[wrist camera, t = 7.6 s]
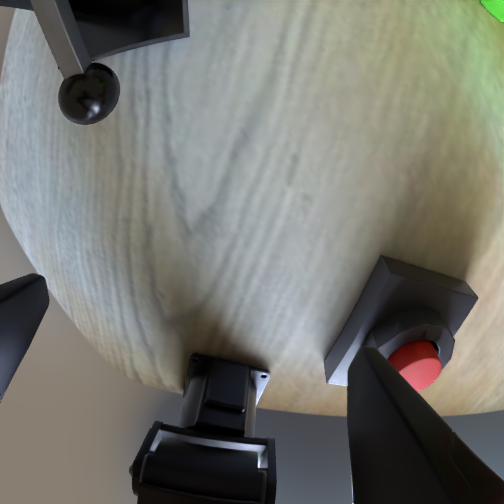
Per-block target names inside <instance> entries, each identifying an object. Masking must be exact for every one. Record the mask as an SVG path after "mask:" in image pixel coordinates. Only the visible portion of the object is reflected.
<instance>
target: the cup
mask: <svg viewBox="0 0 504 504" xmlns="http://www.w3.org/2000/svg"><path fill="white" fill-rule="evenodd" d="M480 2H481V3H482V5H483V6H484V7H485V8H486V9H487V11H488V12H489V13H490V14H492V15H493V16H494V17H495V18H496V19H498V20H499V21H501V22H503V23H504V0H480Z"/></svg>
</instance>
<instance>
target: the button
mask: <svg viewBox="0 0 504 504" xmlns="http://www.w3.org/2000/svg"><path fill="white" fill-rule="evenodd" d="M387 360H388V361H389V362H390V363H391V364H392V366H393V367H394V368H395V369H396V370H397V371H398V372H399V373H400V374H401V375H402V376H403V377H404V378H405V379H406V380H407V381H408V382H409V384H410V385H411V386H412V387H413V388H414V389H415V390H416V391H417V392H418V391H421V390H423V389H424V388H426V387H428V386H429V385H430V384H432V383H433V382H434V381H435V380H436V379H437V378H438V376H439V375H440V373H441V370H442V364H441V361H440V359H439V357H438V355H437V353H436V351H435V349H434V346H433V345H432V344H431V343H430V342H429V341H427V340H417V341H414V342H410V343H406V344H404V345H403V346H401V347H400V348H398V349H397V350H395V351H394V352H392V353H391V354H390V356H389V357H388V359H387Z"/></svg>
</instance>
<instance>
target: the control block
mask: <svg viewBox="0 0 504 504" xmlns="http://www.w3.org/2000/svg"><path fill="white" fill-rule="evenodd" d="M477 300H478V296H477V295H476V294H475V293H474V291H473V290H472V289H471V288H470V286H469V285H468V284H467V283H466V281H463V280H460V279H457V278H454V277H450V276H447V275H444V274H441V273H438V272H434V271H431V270H428V269H425V268H422V267H418V266H415V265H412V264H408V263H405V262H402V261H399V260H395V259H392V258H389V257H385V256H382V255H381V256H380V258H379V260H378V262H377V264H376V266H375V268H374V270H373V272H372V274H371V276H370V278H369V280H368V282H367V284H366V286H365V288H364V290H363V292H362V294H361V296H360V298H359V300H358V302H357V304H356V306H355V308H354V310H353V312H352V313H351V315H350V317H349V319H348V321H347V323H346V324H345V326H344V328H343V330H342V332H341V333H340V335H339V337H338V339H337V341H336V342H335V344H334V346H333V348H332V349H331V351H330V353H329V354H328V356H327V358H326V359H325V361H324V368H325V375H326V383H330V384H337V385H345V386H347V372H348V368H349V365H350V364H351V362H352V360H353V358H354V356H355V355H356V353H357V351H358V349H359V348H360V347H362V346H368V347H374V348H376V349H377V350H378V351H379V352H380V353H381V354H382V355H383V356H384V357H385V358H386V359H388V357H389V356H390V354H391V353H392V352H394V351H395V350H397V349H398V348H400V347H401V346H403V345H404V344H406V343H410V342H414V341H417V340H427V341H429V342H430V343H431V344H432V345H433V346H434V349H435V351H436V353H437V355H438V357H439V359H440V361H441V364H442V369H443V368H444V367H445V365H446V364H447V363H448V362H449V360H450V359H451V357H452V352H453V348H454V343H455V339H454V337H453V336H454V335H455V333H456V332H457V331H458V329H459V328H460V326H461V325H462V323H463V322H464V320H465V319H466V317H467V316H468V314H469V313H470V311H471V309H472V308H473V306H474V305H475V303H476V301H477Z"/></svg>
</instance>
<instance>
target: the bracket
mask: <svg viewBox="0 0 504 504" xmlns="http://www.w3.org/2000/svg"><path fill="white" fill-rule="evenodd" d="M68 2H69V4H70V7H71V10H72V13H73V15H74V18H75V21H76V23H77V26H78V28H79V31H80V33H81V36H82V39H83V41H84V44H85V46H86V49H87V51H88V53H89V56H90V58H91V61H95V60H98V59H101V58H104V57H107V56H111V55H114V54H117V53H121V52H124V51H128V50H132V49H136V48H140V47H144V46H148V45H152V44H156V43H161V42H166V41H171V40H176V39H181V38H187V37H190V31H189V14H188V0H68ZM0 6H6V7H13V8H19V9H25V10H31V11H34V9H33V6H32V4H31V1H30V0H0ZM58 69H59V67H58ZM59 70H60V69H59Z"/></svg>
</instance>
